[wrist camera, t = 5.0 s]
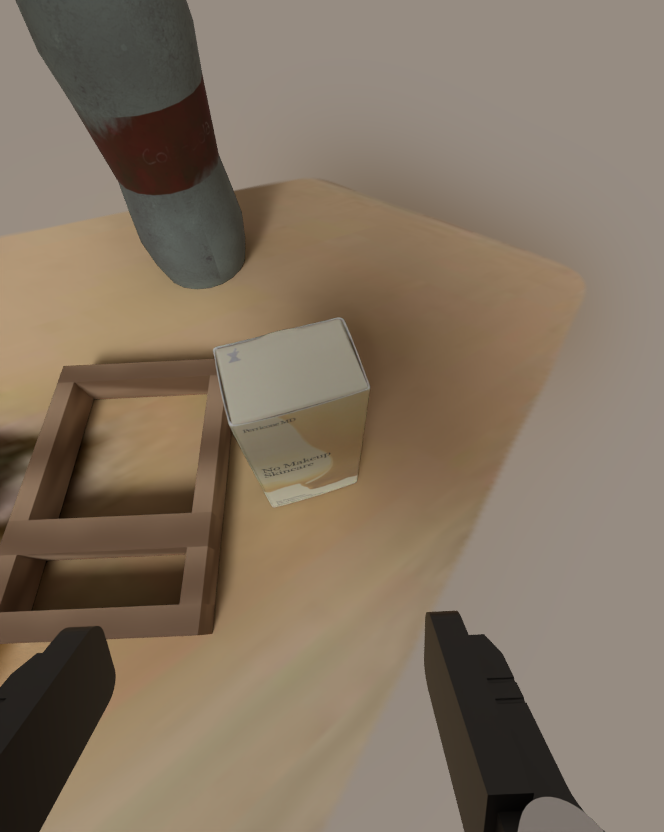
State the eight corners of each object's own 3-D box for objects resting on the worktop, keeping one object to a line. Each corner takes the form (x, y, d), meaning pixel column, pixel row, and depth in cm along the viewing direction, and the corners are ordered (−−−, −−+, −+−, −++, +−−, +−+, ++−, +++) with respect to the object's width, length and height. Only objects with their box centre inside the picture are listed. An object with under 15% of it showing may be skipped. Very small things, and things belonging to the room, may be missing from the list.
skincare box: (272, 510, 26) (219, 431, 15) (258, 453, 28) (203, 347, 17) (362, 482, 26) (375, 387, 16) (343, 428, 28) (342, 311, 18)
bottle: (155, 238, 39) (-241, -560, 13) (244, 221, 40) (46, -560, 14) (160, 303, 35) (-427, -699, 8) (259, 283, 36) (12, -685, 9)
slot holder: (83, 384, 31) (63, 366, 29) (236, 376, 31) (228, 358, 29) (1, 642, 22) (-36, 645, 20) (212, 633, 22) (197, 635, 20)
